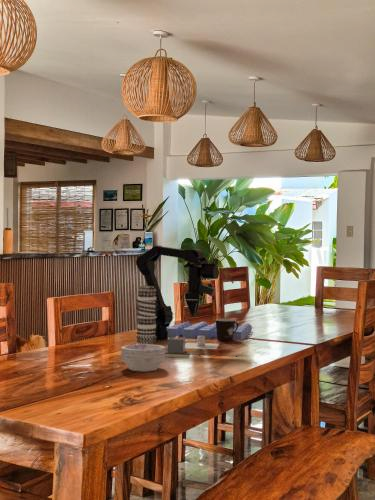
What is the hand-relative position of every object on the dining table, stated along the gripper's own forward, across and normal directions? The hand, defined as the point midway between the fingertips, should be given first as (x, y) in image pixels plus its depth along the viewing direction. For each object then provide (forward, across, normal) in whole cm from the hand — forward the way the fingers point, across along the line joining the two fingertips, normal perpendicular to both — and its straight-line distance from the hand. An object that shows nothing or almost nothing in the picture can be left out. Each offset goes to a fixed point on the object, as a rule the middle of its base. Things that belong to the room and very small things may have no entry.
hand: (194, 314), depth 279 cm
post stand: (+13, -9, -4) cm, 16 cm away
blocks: (+14, +34, -4) cm, 37 cm away
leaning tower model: (+13, -3, +20) cm, 24 cm away
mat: (+13, -25, +4) cm, 28 cm away
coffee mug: (+13, +10, -14) cm, 22 cm away
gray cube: (+12, -25, +4) cm, 28 cm away
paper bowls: (+13, -56, +11) cm, 59 cm away
